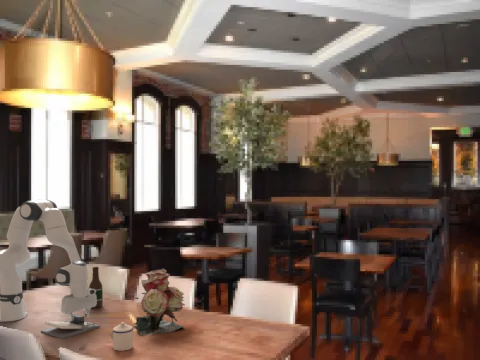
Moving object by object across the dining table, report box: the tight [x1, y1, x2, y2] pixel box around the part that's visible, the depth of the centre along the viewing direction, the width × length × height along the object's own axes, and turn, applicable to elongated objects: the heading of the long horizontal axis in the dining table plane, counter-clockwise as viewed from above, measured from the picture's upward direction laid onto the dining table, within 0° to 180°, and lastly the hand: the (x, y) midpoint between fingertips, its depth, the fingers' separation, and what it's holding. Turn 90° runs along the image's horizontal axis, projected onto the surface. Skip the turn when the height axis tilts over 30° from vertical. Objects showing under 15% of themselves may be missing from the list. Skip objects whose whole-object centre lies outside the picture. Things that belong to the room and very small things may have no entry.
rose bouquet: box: [130, 268, 185, 337], centre depth 258 cm, size 26×29×30 cm
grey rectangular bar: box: [69, 313, 97, 328], centre depth 260 cm, size 16×5×4 cm, turn 55°
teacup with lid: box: [109, 321, 134, 352], centre depth 227 cm, size 12×9×12 cm
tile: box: [44, 321, 82, 329], centre depth 251 cm, size 12×14×1 cm
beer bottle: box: [88, 266, 104, 309], centre depth 300 cm, size 8×8×24 cm
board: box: [40, 319, 100, 340], centre depth 255 cm, size 18×22×3 cm
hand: (79, 318), depth 261 cm, fingers open, 8 cm apart
